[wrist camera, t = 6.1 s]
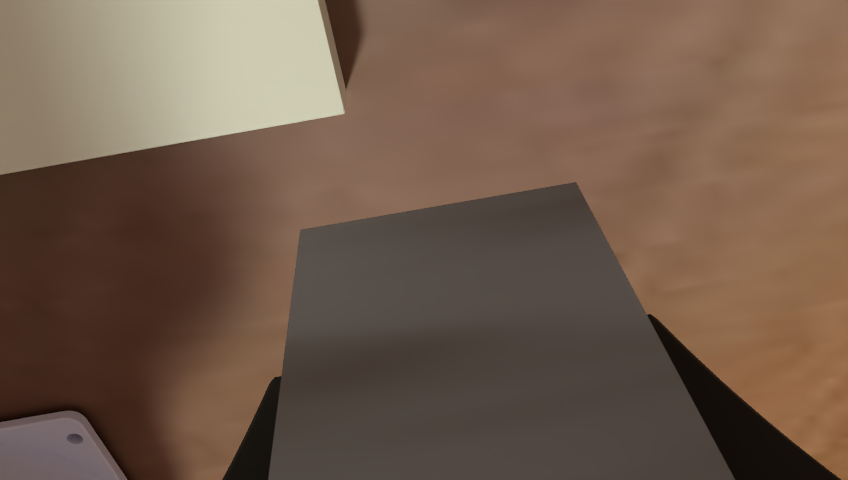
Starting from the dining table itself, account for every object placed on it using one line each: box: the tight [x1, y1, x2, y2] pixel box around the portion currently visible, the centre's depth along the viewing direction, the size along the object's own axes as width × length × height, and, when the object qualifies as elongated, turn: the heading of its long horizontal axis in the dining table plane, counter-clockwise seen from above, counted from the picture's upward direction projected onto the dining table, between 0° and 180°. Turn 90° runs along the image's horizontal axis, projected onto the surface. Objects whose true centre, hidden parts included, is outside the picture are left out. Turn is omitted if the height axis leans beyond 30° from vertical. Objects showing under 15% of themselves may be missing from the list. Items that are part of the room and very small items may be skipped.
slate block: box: [268, 182, 735, 480], centre depth 10 cm, size 4×4×6 cm
